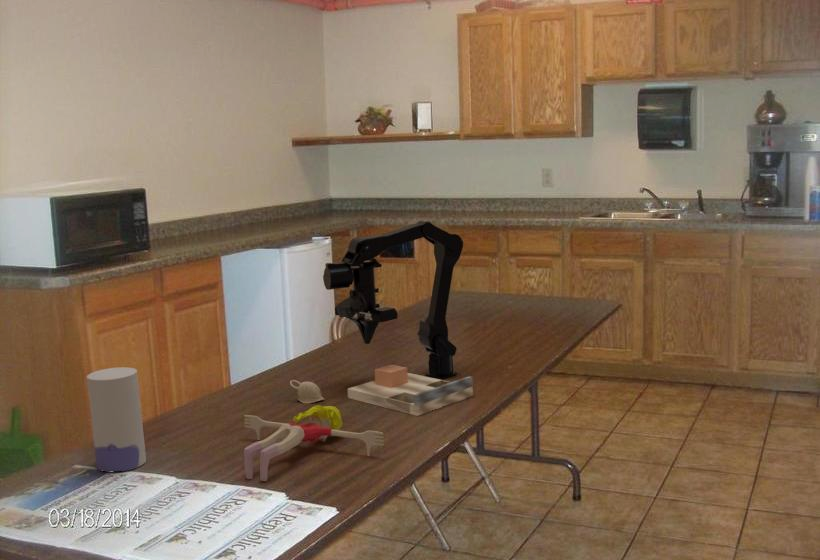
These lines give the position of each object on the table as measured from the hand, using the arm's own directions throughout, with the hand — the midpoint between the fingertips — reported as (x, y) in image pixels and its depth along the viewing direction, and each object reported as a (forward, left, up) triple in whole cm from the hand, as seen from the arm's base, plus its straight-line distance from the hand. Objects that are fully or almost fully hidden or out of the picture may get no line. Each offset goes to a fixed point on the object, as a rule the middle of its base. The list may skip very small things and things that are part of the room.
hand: (367, 343), depth 235 cm
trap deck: (0, +15, -12) cm, 19 cm away
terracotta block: (0, +8, -10) cm, 13 cm away
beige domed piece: (+18, -4, -12) cm, 22 cm away
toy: (+44, +26, -12) cm, 53 cm away
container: (+71, -1, -12) cm, 72 cm away
